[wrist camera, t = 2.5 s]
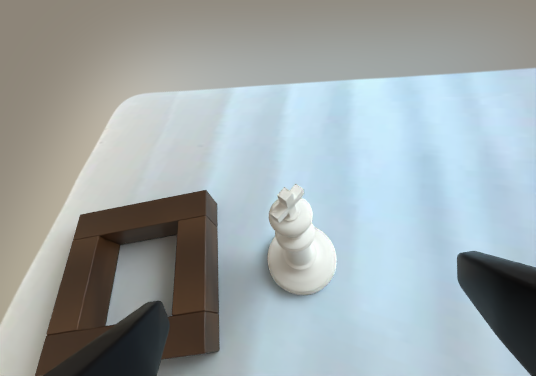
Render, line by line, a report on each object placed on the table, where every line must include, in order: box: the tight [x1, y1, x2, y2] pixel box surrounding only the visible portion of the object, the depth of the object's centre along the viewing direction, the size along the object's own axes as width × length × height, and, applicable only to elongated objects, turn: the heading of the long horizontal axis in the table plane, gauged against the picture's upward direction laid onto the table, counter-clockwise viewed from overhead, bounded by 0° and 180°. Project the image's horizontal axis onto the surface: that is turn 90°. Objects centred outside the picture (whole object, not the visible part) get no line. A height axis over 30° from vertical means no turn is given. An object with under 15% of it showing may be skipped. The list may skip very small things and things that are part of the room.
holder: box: [35, 190, 219, 376], centre depth 19 cm, size 11×11×2 cm
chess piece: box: [267, 184, 337, 295], centre depth 14 cm, size 5×5×10 cm
